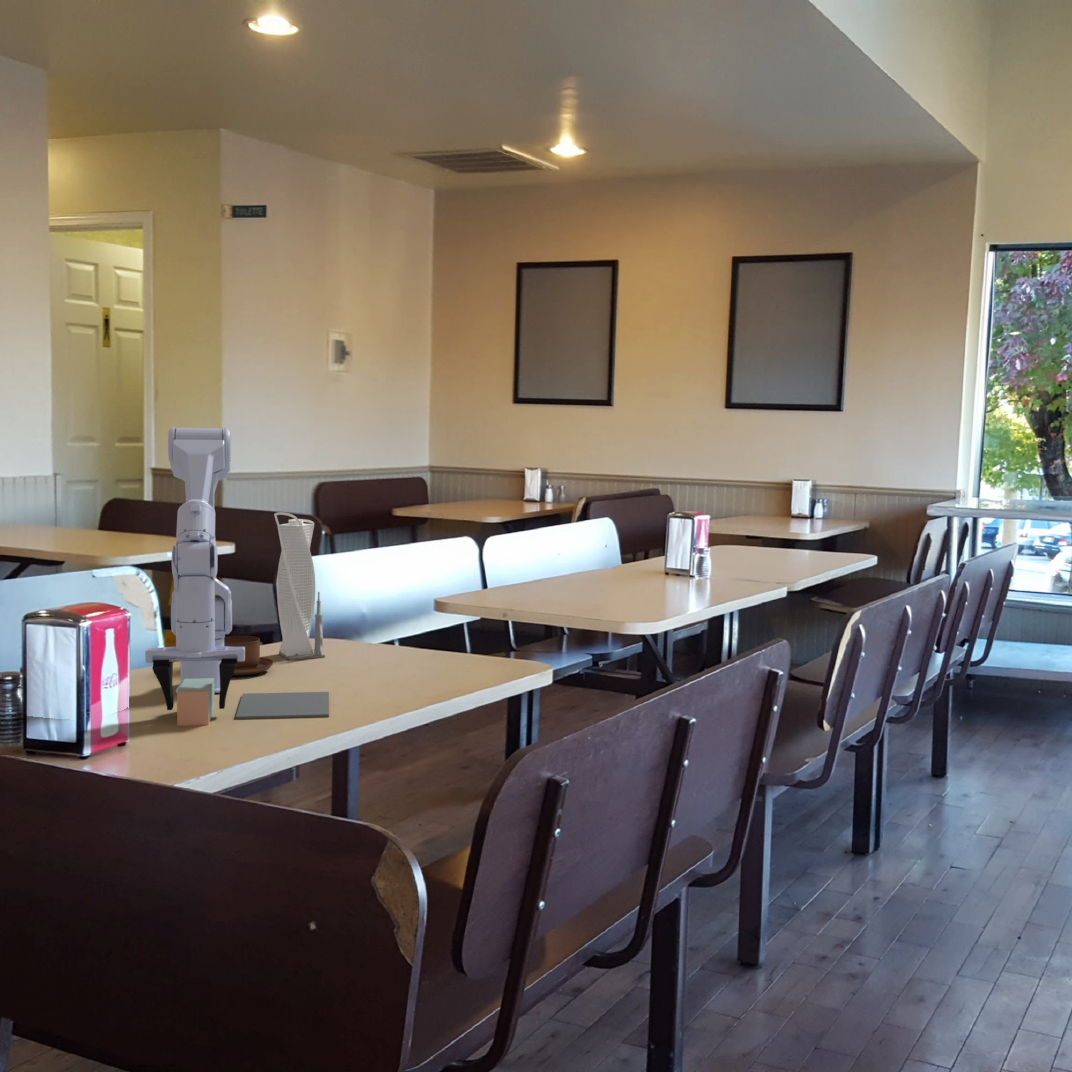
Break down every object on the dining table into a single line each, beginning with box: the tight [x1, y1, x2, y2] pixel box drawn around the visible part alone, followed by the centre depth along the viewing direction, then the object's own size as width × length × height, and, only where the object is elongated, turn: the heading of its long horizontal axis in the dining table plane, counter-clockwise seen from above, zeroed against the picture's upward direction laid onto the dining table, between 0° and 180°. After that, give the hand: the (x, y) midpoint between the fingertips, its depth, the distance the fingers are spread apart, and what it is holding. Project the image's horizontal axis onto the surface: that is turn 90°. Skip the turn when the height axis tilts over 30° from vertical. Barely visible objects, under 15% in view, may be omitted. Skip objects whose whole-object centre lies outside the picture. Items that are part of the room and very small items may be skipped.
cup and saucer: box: [224, 635, 274, 677], centre depth 221 cm, size 12×12×6 cm
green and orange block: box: [176, 678, 216, 727], centre depth 187 cm, size 10×4×5 cm, turn 10°
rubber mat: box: [235, 691, 330, 720], centre depth 195 cm, size 16×14×1 cm
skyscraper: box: [273, 511, 326, 661], centre depth 236 cm, size 8×8×28 cm
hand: (196, 708), depth 187 cm, fingers open, 7 cm apart
